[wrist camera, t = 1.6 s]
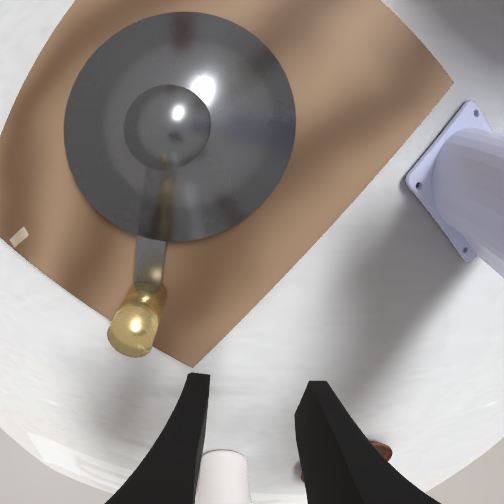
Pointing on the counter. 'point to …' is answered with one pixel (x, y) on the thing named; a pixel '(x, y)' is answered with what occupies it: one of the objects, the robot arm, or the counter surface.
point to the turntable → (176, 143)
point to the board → (276, 205)
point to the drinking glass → (223, 479)
